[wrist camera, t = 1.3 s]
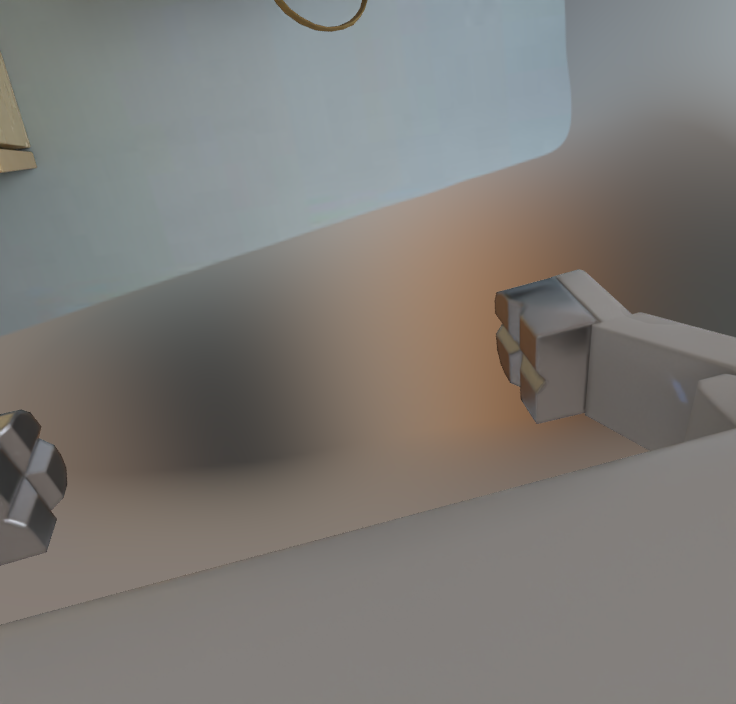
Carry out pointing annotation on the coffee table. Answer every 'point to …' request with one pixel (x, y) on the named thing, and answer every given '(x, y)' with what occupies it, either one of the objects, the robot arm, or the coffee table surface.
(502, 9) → the coffee table surface
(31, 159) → the cabinet door
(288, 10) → the lantern
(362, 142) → the coffee table surface
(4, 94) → the beige rectangular box
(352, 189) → the coffee table surface
